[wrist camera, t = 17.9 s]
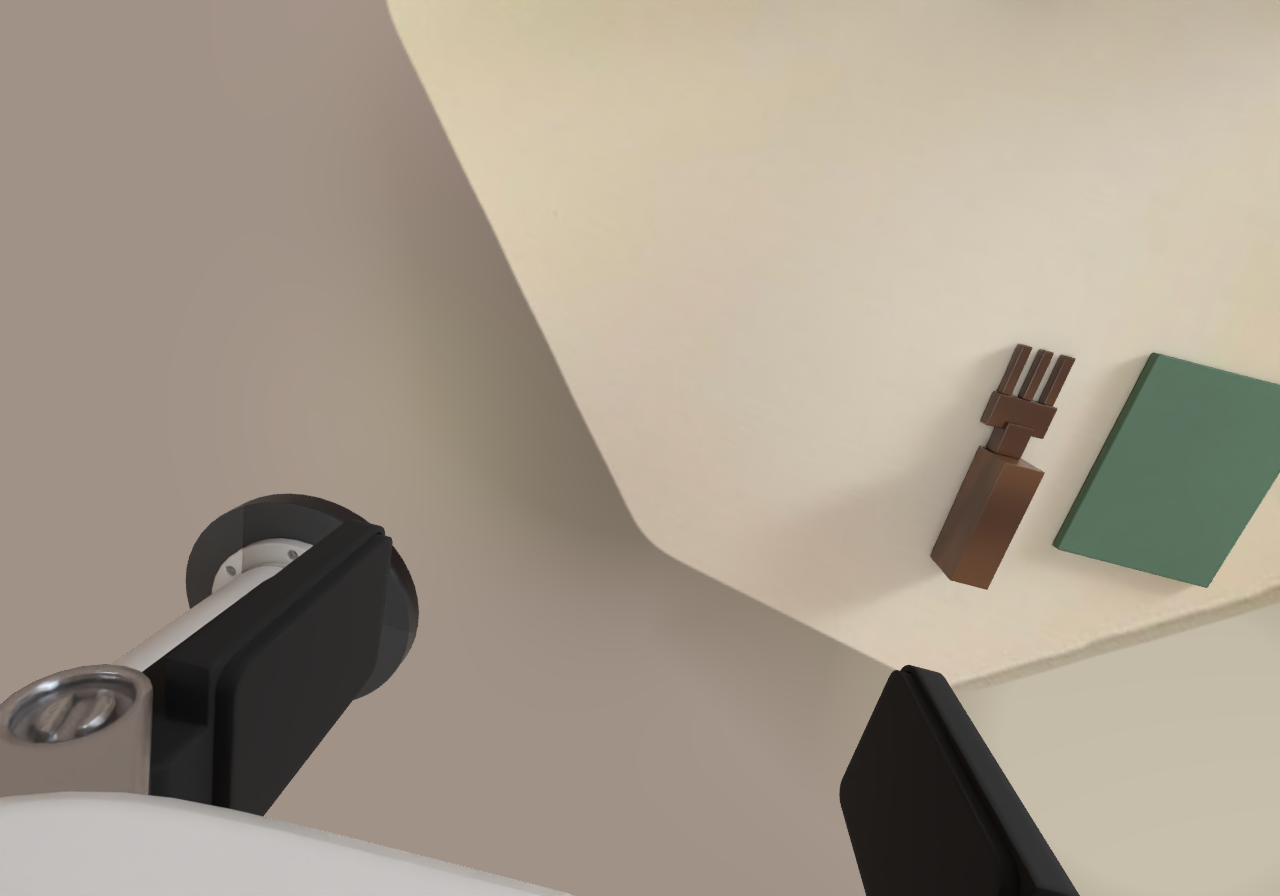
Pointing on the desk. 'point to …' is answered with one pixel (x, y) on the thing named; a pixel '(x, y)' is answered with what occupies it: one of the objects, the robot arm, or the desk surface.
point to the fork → (1000, 474)
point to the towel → (1179, 472)
